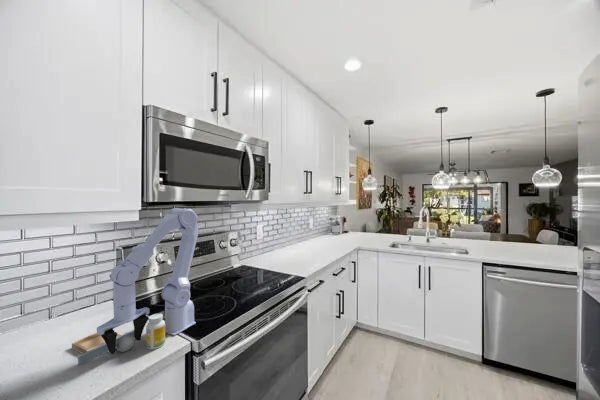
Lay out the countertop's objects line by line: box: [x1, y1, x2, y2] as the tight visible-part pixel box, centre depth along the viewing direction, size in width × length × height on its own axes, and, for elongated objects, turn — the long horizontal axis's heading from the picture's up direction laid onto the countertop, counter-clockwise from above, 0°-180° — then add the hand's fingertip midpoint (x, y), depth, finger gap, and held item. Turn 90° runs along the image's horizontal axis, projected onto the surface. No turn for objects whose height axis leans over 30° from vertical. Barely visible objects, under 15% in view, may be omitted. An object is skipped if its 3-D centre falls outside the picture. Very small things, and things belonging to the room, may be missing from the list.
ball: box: [116, 333, 136, 353], centre depth 80 cm, size 5×5×5 cm
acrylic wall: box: [77, 329, 135, 366], centre depth 80 cm, size 16×1×2 cm, turn 154°
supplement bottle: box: [145, 312, 166, 350], centre depth 82 cm, size 5×5×10 cm
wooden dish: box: [71, 332, 122, 354], centre depth 83 cm, size 10×10×2 cm
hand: (125, 345), depth 80 cm, fingers open, 7 cm apart
